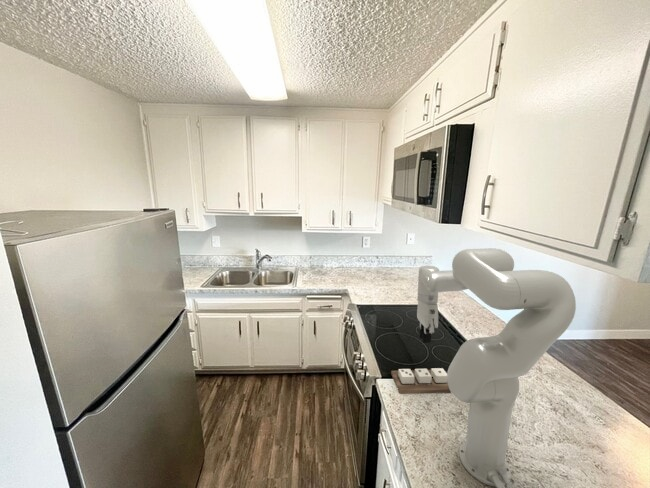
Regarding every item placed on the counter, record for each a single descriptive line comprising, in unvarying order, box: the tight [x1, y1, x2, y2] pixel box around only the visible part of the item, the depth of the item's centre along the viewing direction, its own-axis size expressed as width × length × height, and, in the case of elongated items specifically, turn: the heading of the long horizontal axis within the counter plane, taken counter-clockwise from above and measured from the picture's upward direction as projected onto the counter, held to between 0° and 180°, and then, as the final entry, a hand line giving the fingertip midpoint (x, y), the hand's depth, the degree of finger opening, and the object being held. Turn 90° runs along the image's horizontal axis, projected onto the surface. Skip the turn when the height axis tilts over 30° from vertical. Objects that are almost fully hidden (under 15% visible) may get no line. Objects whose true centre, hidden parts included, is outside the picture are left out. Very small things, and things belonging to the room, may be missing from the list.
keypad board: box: [390, 369, 452, 395], centre depth 107 cm, size 12×23×2 cm, turn 91°
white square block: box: [397, 368, 416, 385], centre depth 107 cm, size 5×5×3 cm
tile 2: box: [414, 368, 433, 384], centre depth 107 cm, size 5×5×3 cm
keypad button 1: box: [430, 367, 447, 384], centre depth 107 cm, size 5×5×3 cm
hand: (425, 340), depth 104 cm, fingers closed
